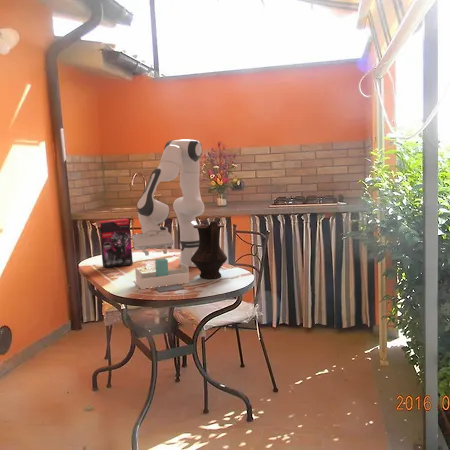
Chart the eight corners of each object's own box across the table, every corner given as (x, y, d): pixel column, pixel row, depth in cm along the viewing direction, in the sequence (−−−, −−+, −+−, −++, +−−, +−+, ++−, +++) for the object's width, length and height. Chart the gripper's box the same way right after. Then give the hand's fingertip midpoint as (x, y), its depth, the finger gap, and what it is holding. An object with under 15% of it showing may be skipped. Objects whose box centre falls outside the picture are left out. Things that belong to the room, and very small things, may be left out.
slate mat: (178, 284, 245) (178, 283, 245) (184, 288, 237) (184, 287, 236) (154, 288, 240) (154, 287, 240) (159, 292, 232) (159, 291, 232)
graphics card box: (104, 268, 290) (100, 222, 287) (101, 266, 296) (98, 220, 293) (133, 265, 298) (130, 219, 294) (130, 263, 304) (126, 218, 300)
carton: (178, 275, 265) (178, 260, 263) (189, 282, 248) (188, 266, 247) (133, 281, 256) (132, 266, 255) (141, 289, 239) (140, 273, 238)
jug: (187, 275, 264) (184, 218, 260) (220, 271, 270) (217, 215, 266) (199, 284, 244) (196, 223, 240) (235, 279, 251) (232, 219, 247)
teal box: (166, 281, 252) (164, 258, 251) (169, 283, 248) (167, 260, 246) (156, 283, 250) (155, 259, 249) (159, 285, 246) (157, 261, 244)
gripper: (131, 230, 256) (136, 252, 248) (170, 227, 263) (176, 248, 256) (130, 238, 260) (135, 259, 253) (168, 234, 268) (174, 255, 260)
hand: (156, 254), depth 254 cm, fingers open, 8 cm apart
